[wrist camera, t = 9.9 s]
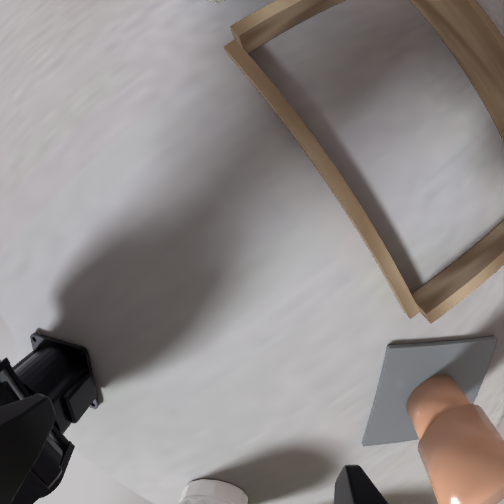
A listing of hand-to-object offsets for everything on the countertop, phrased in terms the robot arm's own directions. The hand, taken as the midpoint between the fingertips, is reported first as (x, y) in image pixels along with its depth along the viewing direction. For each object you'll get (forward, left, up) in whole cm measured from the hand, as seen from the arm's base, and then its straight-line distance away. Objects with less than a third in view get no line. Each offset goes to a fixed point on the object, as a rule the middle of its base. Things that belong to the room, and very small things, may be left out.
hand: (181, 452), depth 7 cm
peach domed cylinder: (+16, -8, -13) cm, 22 cm away
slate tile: (+16, -8, -13) cm, 22 cm away
